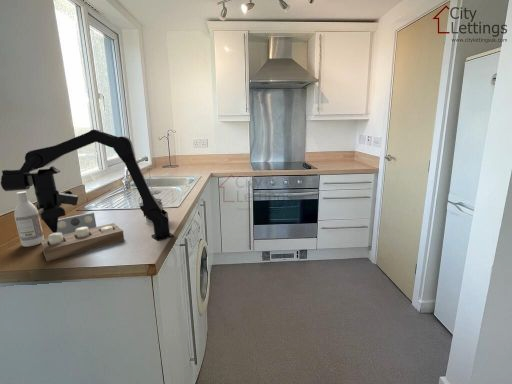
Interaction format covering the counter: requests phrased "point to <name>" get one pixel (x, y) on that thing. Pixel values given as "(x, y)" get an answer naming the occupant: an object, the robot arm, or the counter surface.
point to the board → (82, 242)
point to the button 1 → (55, 238)
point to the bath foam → (27, 221)
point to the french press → (156, 191)
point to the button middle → (82, 232)
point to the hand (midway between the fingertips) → (54, 232)
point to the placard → (75, 223)
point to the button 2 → (106, 229)
